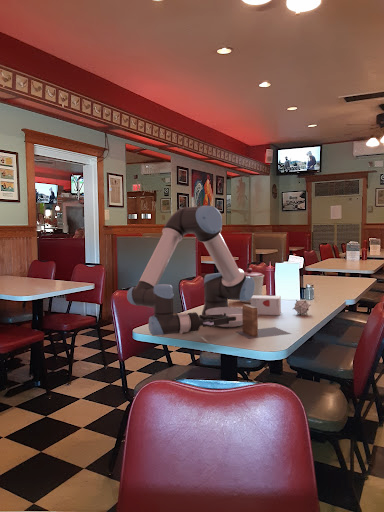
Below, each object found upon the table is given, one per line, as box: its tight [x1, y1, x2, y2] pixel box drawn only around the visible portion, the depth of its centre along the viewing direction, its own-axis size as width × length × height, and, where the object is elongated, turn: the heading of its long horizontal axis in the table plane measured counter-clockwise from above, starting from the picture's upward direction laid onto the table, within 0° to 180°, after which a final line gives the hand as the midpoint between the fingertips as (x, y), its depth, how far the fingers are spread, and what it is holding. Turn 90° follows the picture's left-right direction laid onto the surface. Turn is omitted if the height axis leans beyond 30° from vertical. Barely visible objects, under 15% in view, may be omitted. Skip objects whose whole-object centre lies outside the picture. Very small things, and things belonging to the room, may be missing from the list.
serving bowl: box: [205, 306, 243, 328], centre depth 189 cm, size 21×21×7 cm
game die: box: [292, 298, 311, 316], centre depth 211 cm, size 9×8×10 cm
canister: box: [240, 267, 265, 304], centre depth 253 cm, size 18×18×21 cm
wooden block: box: [241, 303, 259, 337], centre depth 171 cm, size 2×9×12 cm, turn 20°
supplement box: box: [250, 295, 282, 316], centre depth 216 cm, size 9×9×15 cm
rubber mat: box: [235, 326, 292, 340], centre depth 174 cm, size 20×13×1 cm, turn 110°
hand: (241, 317), depth 169 cm, fingers closed
